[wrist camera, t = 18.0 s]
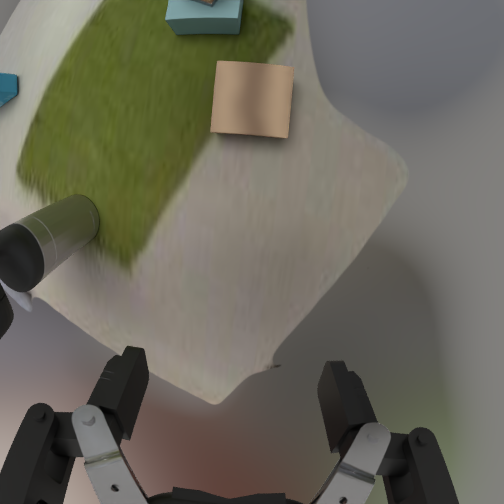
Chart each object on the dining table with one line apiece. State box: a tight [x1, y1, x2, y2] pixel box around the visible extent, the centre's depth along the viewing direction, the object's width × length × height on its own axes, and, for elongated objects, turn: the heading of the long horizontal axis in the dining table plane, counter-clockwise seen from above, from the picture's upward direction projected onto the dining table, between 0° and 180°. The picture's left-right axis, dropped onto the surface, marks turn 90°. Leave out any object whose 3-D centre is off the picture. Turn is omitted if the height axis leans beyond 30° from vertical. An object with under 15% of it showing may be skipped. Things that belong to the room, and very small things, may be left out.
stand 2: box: [211, 61, 294, 138], centre depth 36 cm, size 10×10×7 cm
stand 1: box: [165, 0, 243, 35], centre depth 29 cm, size 10×10×7 cm
